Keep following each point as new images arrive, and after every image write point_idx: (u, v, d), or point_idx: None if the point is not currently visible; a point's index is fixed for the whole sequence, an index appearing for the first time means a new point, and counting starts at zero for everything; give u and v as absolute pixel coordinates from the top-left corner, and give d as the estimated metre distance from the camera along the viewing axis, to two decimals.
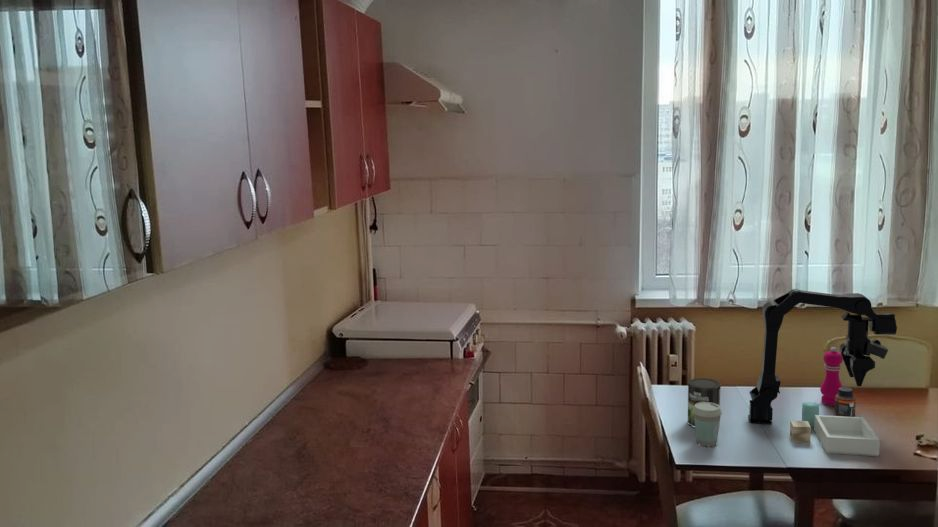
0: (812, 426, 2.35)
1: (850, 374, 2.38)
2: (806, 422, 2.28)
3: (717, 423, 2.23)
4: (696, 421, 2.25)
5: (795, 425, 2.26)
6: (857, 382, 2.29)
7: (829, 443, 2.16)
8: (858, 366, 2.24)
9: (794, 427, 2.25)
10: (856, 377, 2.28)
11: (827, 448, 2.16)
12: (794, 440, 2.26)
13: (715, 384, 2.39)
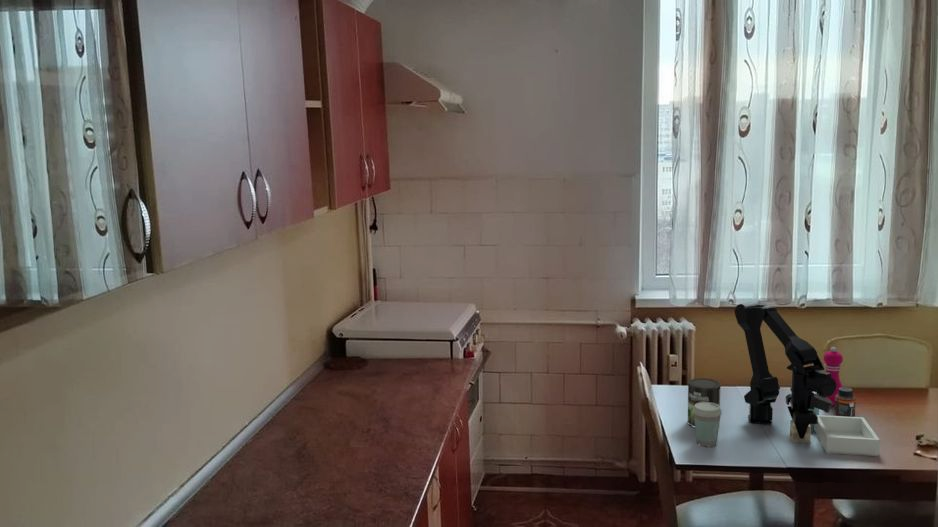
0: (812, 426, 2.35)
1: None
2: None
3: (717, 423, 2.23)
4: (696, 421, 2.25)
5: None
6: (799, 434, 2.24)
7: (829, 443, 2.16)
8: (800, 421, 2.18)
9: (794, 427, 2.25)
10: (798, 429, 2.24)
11: (827, 448, 2.16)
12: (794, 440, 2.26)
13: (715, 384, 2.39)
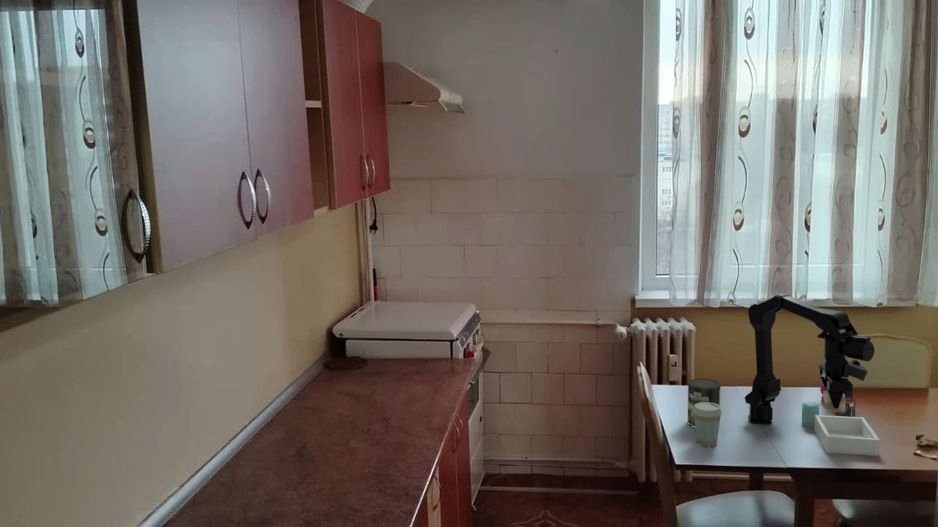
0: (812, 426, 2.35)
1: None
2: None
3: (717, 423, 2.23)
4: (696, 421, 2.25)
5: None
6: (834, 404, 2.17)
7: (829, 443, 2.16)
8: (835, 389, 2.10)
9: (828, 396, 2.17)
10: (832, 399, 2.16)
11: (827, 448, 2.16)
12: (828, 410, 2.18)
13: (715, 384, 2.39)
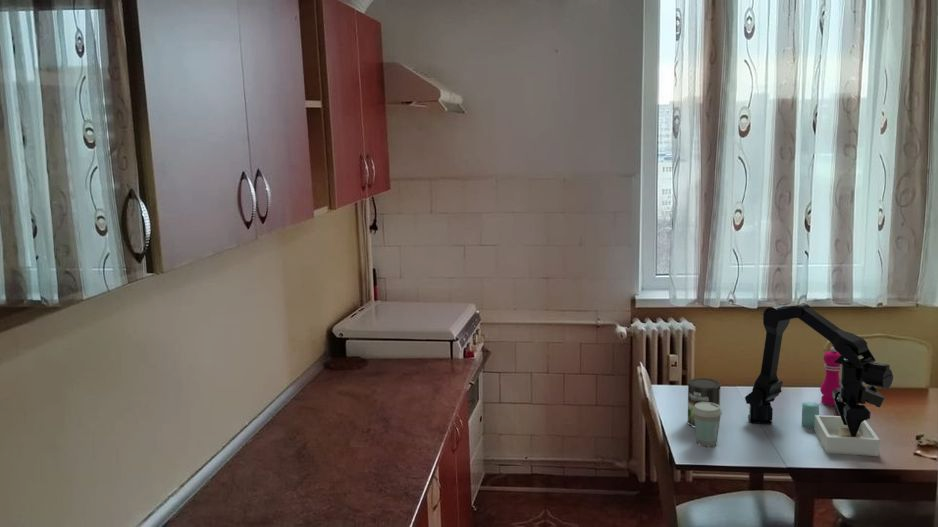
0: (812, 426, 2.35)
1: (844, 422, 2.23)
2: None
3: (717, 423, 2.23)
4: (696, 421, 2.25)
5: (844, 433, 2.17)
6: (851, 432, 2.13)
7: (829, 443, 2.16)
8: (852, 416, 2.09)
9: (843, 434, 2.17)
10: (850, 427, 2.13)
11: (827, 448, 2.16)
12: None
13: (715, 384, 2.39)
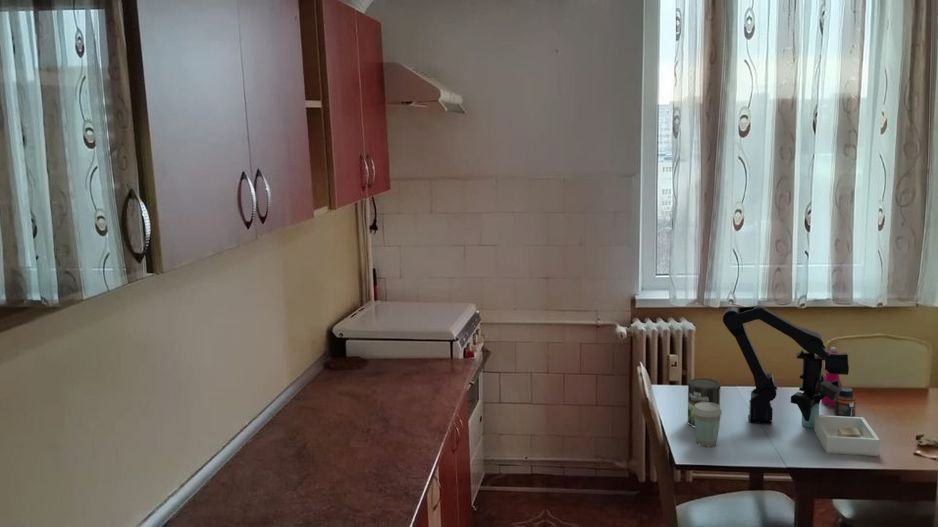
0: (812, 426, 2.35)
1: None
2: (855, 429, 2.19)
3: (717, 423, 2.23)
4: (696, 421, 2.25)
5: (844, 433, 2.17)
6: (804, 416, 2.35)
7: (829, 443, 2.16)
8: (794, 402, 2.31)
9: (843, 434, 2.17)
10: (802, 411, 2.35)
11: (827, 448, 2.16)
12: None
13: (715, 384, 2.39)
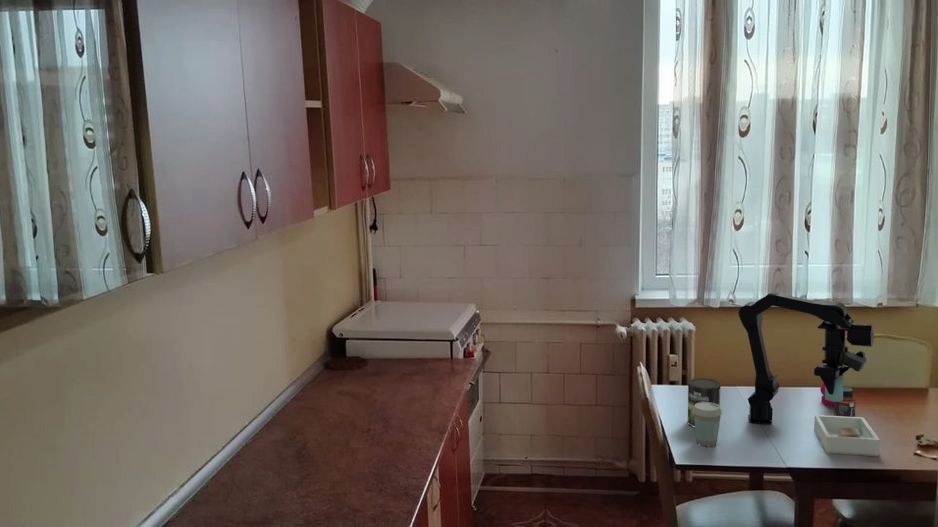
0: (836, 399, 2.27)
1: None
2: (855, 429, 2.19)
3: (717, 423, 2.23)
4: (696, 421, 2.25)
5: (844, 433, 2.17)
6: (828, 390, 2.27)
7: (829, 443, 2.16)
8: (818, 374, 2.22)
9: (843, 434, 2.17)
10: (826, 384, 2.26)
11: (827, 448, 2.16)
12: None
13: (715, 384, 2.39)
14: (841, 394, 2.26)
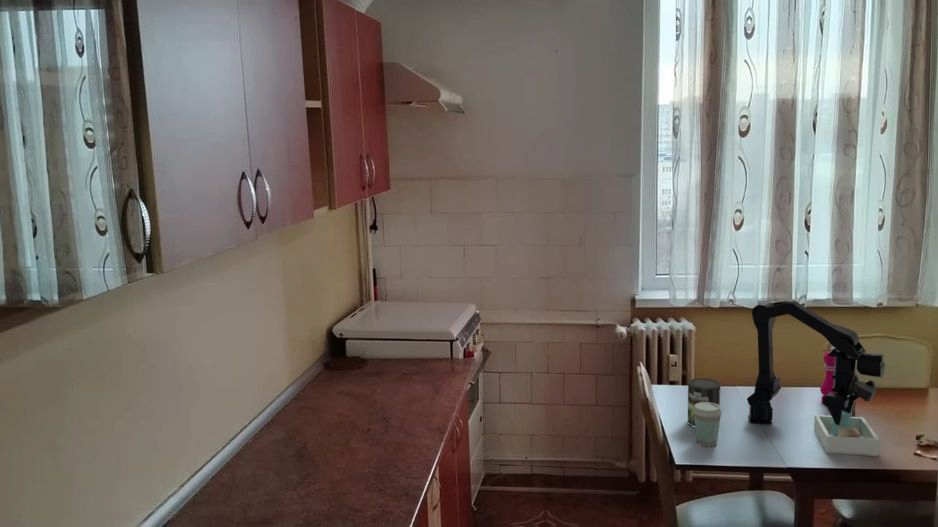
0: None
1: None
2: (855, 429, 2.19)
3: (717, 423, 2.23)
4: (696, 421, 2.25)
5: (844, 433, 2.17)
6: (834, 420, 2.23)
7: (829, 443, 2.16)
8: (827, 403, 2.20)
9: (843, 434, 2.17)
10: (832, 415, 2.23)
11: (827, 448, 2.16)
12: None
13: (715, 384, 2.39)
14: None
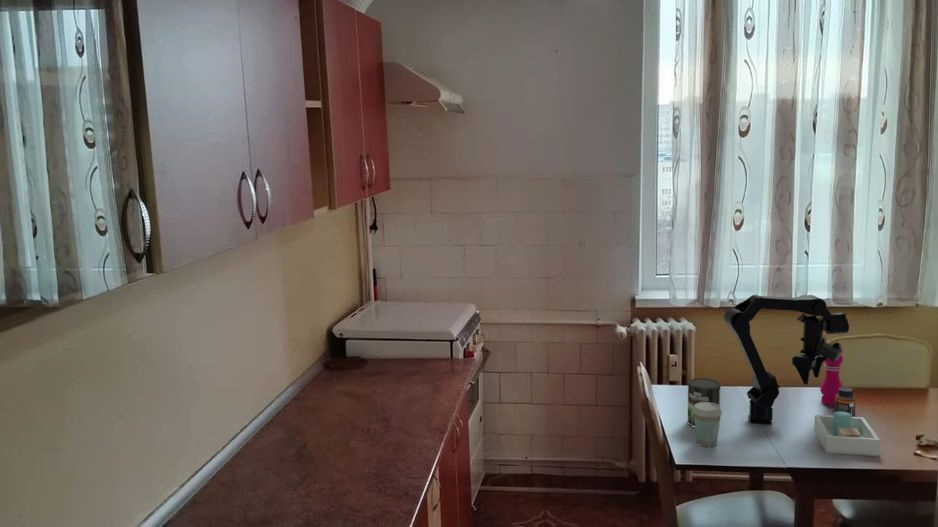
0: None
1: (814, 374, 2.45)
2: (855, 429, 2.19)
3: (717, 423, 2.23)
4: (696, 421, 2.25)
5: (844, 433, 2.17)
6: (803, 380, 2.38)
7: (829, 443, 2.16)
8: (795, 363, 2.35)
9: (843, 434, 2.17)
10: (801, 375, 2.38)
11: (827, 448, 2.16)
12: None
13: (715, 384, 2.39)
14: None
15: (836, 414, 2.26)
